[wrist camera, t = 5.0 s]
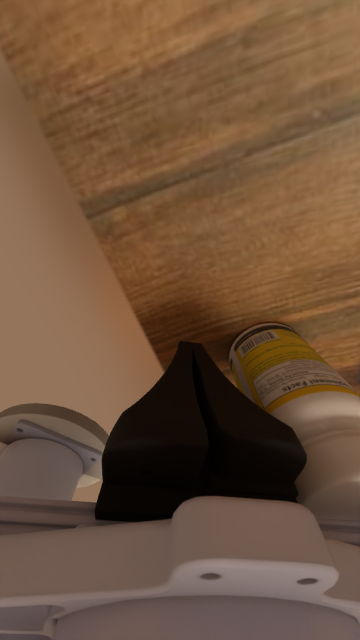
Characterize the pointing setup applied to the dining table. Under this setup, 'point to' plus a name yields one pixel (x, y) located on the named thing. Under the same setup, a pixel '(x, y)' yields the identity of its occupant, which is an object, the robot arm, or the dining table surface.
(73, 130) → the dining table surface
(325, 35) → the dining table surface
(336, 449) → the supplement bottle
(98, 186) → the dining table surface
